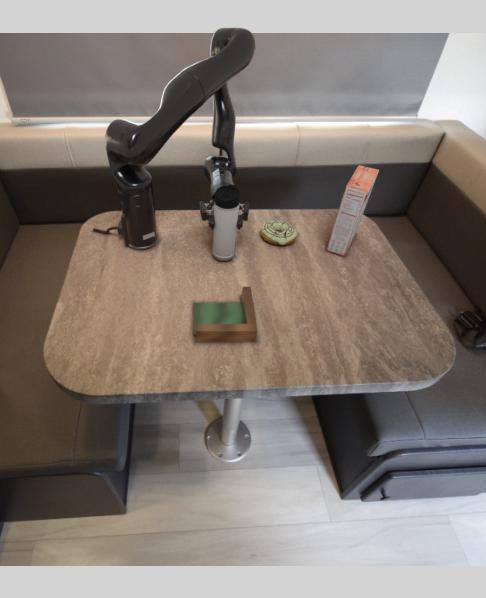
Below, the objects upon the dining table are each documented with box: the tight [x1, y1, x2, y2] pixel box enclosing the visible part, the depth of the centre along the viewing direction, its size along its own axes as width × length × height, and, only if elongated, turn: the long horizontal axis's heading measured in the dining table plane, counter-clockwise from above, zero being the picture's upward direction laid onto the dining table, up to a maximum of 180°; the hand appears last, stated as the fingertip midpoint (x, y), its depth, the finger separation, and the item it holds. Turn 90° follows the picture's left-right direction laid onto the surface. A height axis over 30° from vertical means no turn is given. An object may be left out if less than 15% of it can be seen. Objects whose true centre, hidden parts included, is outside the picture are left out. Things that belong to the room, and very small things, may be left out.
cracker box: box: [325, 165, 380, 257], centre depth 99 cm, size 14×6×21 cm, turn 150°
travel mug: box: [212, 184, 241, 262], centre depth 93 cm, size 6×7×20 cm
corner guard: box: [192, 286, 258, 343], centre depth 82 cm, size 14×14×4 cm
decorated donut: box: [260, 219, 298, 247], centre depth 106 cm, size 10×11×4 cm
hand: (226, 226), depth 91 cm, fingers closed on travel mug, 6 cm apart
